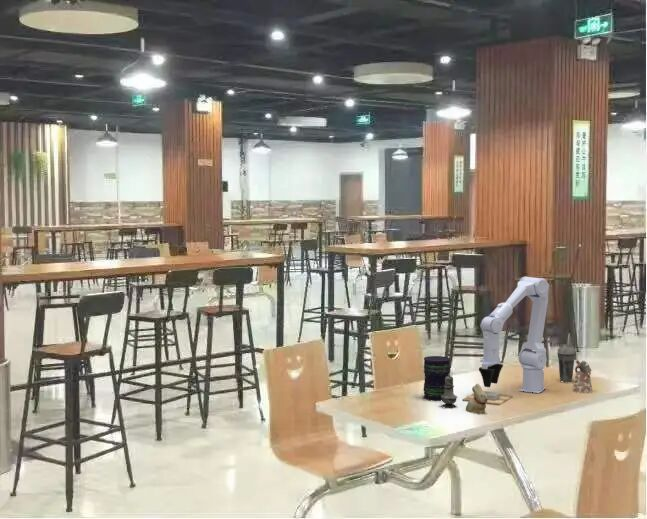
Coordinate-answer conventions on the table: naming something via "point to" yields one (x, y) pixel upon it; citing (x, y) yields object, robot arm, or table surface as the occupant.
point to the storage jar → (435, 376)
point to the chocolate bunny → (477, 400)
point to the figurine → (582, 378)
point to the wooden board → (493, 402)
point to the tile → (492, 395)
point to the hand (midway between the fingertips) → (490, 385)
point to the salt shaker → (449, 393)
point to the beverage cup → (566, 361)
